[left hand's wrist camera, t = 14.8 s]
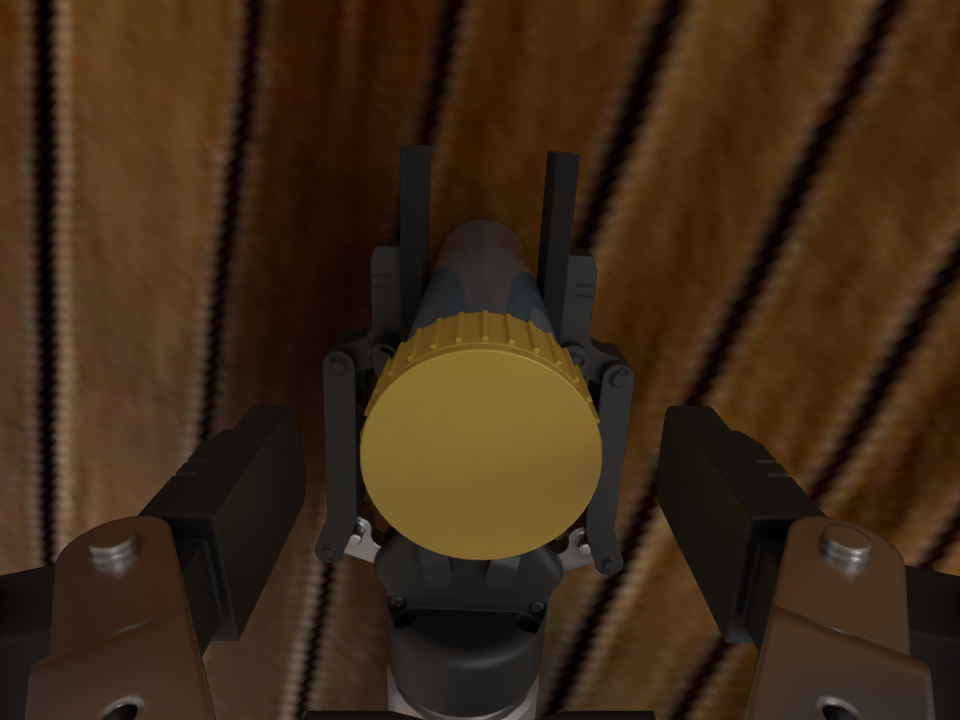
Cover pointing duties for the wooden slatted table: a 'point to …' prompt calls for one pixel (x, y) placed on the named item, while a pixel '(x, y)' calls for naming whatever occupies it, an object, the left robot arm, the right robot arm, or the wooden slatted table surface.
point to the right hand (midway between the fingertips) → (489, 150)
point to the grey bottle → (482, 278)
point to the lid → (481, 438)
